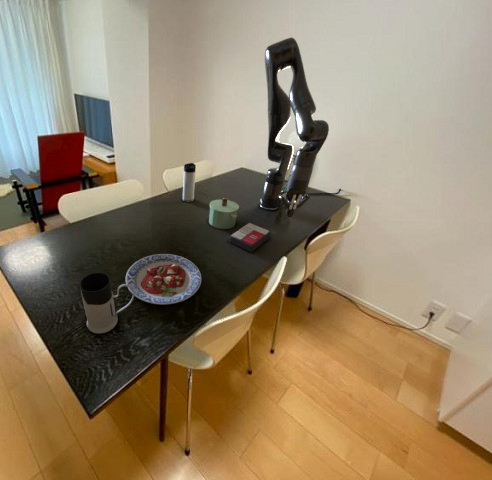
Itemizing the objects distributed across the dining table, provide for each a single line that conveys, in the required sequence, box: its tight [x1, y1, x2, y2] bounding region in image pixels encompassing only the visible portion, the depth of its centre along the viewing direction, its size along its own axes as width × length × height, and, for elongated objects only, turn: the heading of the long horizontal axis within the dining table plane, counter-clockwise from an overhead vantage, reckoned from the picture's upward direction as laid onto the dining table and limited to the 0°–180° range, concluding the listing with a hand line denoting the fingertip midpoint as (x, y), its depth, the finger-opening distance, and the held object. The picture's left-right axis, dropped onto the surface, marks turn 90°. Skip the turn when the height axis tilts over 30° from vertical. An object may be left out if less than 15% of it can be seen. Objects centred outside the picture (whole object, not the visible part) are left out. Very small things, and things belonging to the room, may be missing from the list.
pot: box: [208, 207, 239, 230], centre depth 125 cm, size 13×18×8 cm
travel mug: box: [182, 162, 197, 203], centre depth 144 cm, size 6×7×20 cm
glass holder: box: [79, 271, 135, 334], centre depth 73 cm, size 9×14×15 cm, turn 93°
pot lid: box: [209, 196, 240, 213], centre depth 122 cm, size 14×14×5 cm
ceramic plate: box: [125, 253, 202, 306], centre depth 91 cm, size 26×26×3 cm
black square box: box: [229, 222, 271, 253], centre depth 114 cm, size 11×4×15 cm
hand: (288, 216), depth 111 cm, fingers closed
